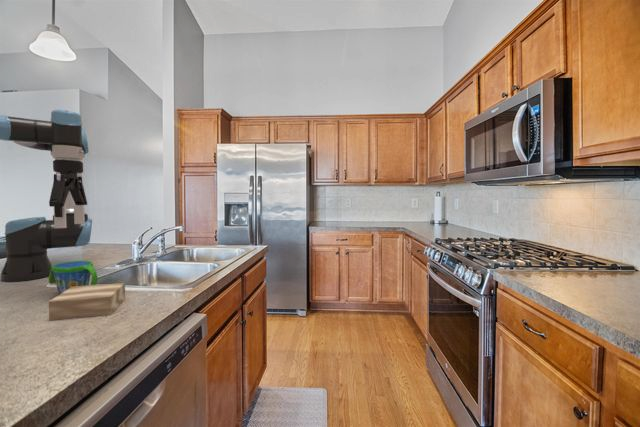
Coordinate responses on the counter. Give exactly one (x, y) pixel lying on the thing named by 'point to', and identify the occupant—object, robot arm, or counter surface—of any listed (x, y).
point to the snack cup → (72, 275)
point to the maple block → (87, 301)
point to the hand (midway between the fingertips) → (70, 225)
